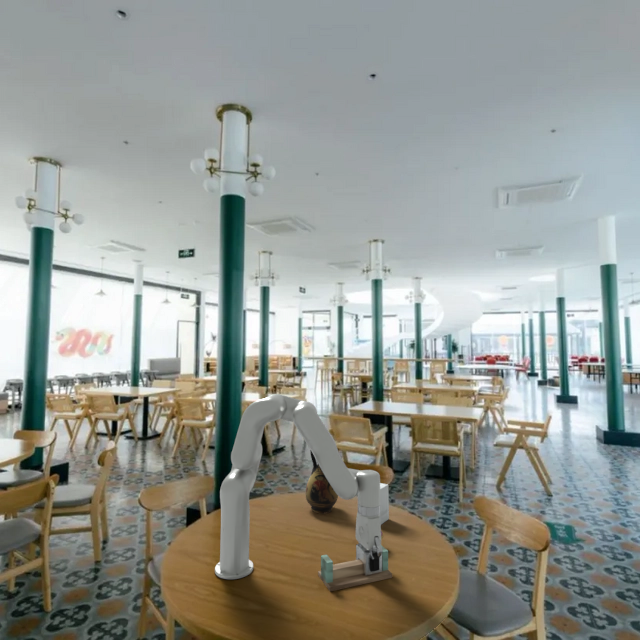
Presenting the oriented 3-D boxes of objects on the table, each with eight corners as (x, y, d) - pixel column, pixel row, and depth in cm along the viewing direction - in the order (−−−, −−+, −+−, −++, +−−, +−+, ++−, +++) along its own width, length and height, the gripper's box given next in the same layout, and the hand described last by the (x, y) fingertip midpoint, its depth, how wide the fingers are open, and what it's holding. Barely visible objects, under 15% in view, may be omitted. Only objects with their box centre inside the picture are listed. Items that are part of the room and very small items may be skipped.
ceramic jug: (343, 506, 196) (343, 442, 198) (330, 518, 181) (331, 449, 184) (310, 501, 202) (311, 439, 205) (296, 512, 188) (297, 445, 191)
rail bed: (318, 575, 135) (318, 552, 135) (376, 563, 143) (376, 541, 144) (330, 591, 126) (330, 566, 126) (392, 577, 134) (392, 554, 134)
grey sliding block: (356, 565, 138) (356, 544, 139) (371, 562, 141) (371, 541, 141) (365, 575, 132) (365, 553, 133) (382, 571, 134) (381, 550, 135)
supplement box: (371, 514, 186) (371, 480, 188) (389, 519, 181) (389, 484, 182) (361, 521, 179) (361, 485, 180) (379, 526, 174) (379, 489, 175)
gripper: (347, 502, 145) (347, 555, 143) (371, 520, 128) (371, 580, 127) (366, 499, 147) (366, 551, 146) (392, 517, 131) (392, 576, 130)
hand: (368, 564), depth 136 cm, fingers closed on grey sliding block, 6 cm apart
